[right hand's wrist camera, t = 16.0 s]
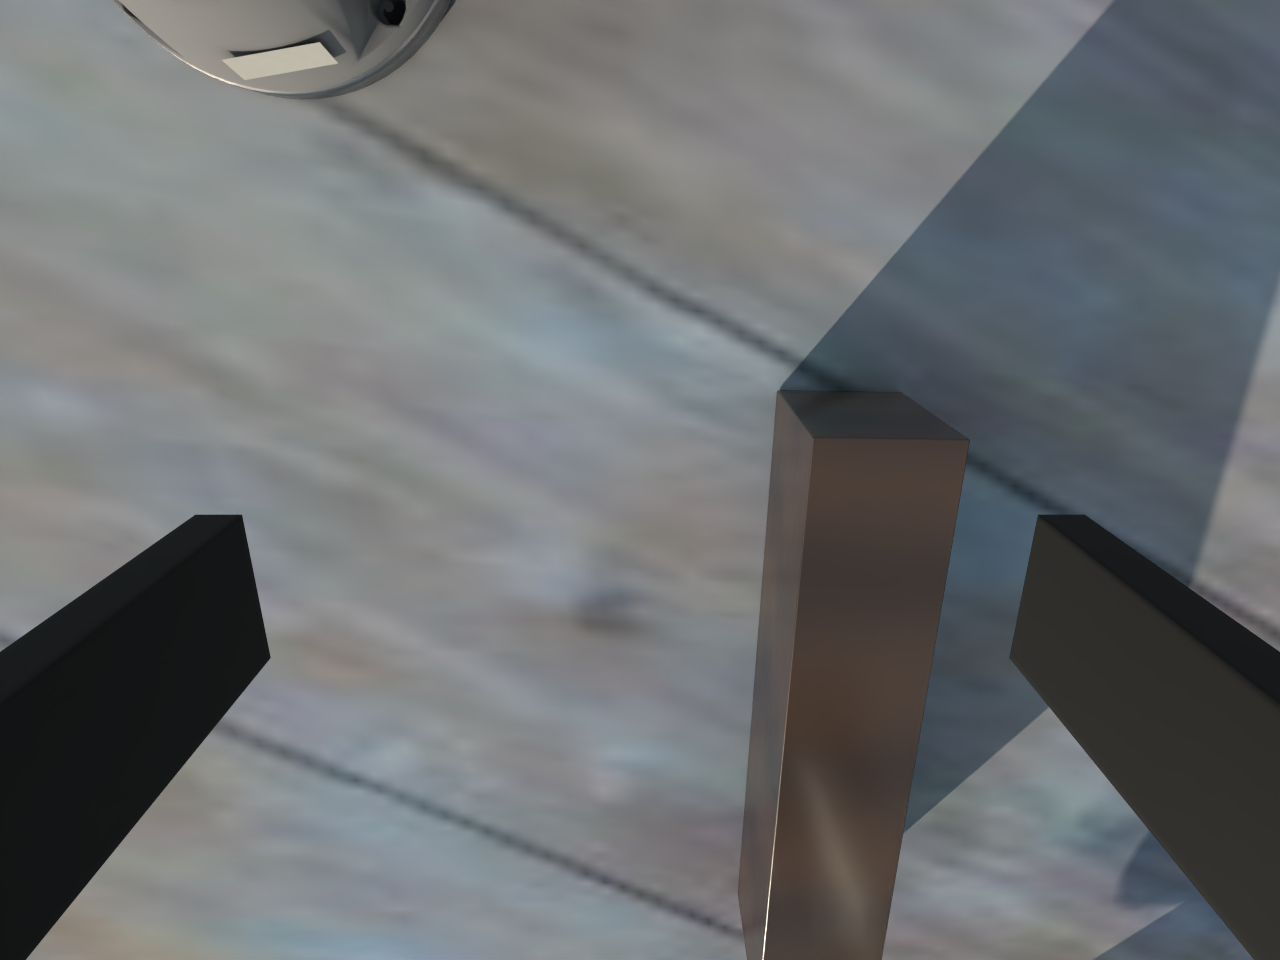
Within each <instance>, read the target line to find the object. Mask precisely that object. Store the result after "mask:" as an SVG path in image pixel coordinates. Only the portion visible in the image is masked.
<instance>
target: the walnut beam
mask: <svg viewBox="0 0 1280 960" xmlns="http://www.w3.org/2000/svg"><path fill="white" fill-rule="evenodd" d="M969 442H970V440H969V439H968V438H966V437H965V436H963V435H962V434H960V433H959V432H958V431H956V430H955V429H953V428H952V427H950V426H949V425H947V424H946V423H945V422H943V421H942V420H940V419H939V418H937V417H936V416H934V415H933V414H932V413H930V412H929V411H927V410H926V409H924V408H923V407H921V406H920V405H919V404H917V403H916V402H914V401H913V400H911V399H910V398H908V397H907V396H906V395H904V394H903V393H901V392H841V391H777V399H776V412H775V425H774V437H773V450H772V463H771V476H770V489H769V502H768V514H767V527H766V540H765V553H764V566H763V578H762V591H761V604H760V617H759V630H758V643H757V655H756V668H755V681H754V694H753V707H752V720H751V732H750V745H749V758H748V771H747V784H746V796H745V809H744V822H743V835H742V848H741V861H740V873H739V886H738V898H739V905H740V913H741V920H742V927H743V934H744V941H745V948H746V955H747V960H882V954H883V948H884V942H885V937H886V931H887V925H888V919H889V913H890V907H891V901H892V895H893V889H894V884H895V878H896V872H897V866H898V860H899V854H900V848H901V842H902V836H903V831H904V825H905V819H906V813H907V807H908V801H909V795H910V789H911V783H912V777H913V772H914V766H915V760H916V754H917V748H918V742H919V736H920V730H921V724H922V719H923V713H924V707H925V701H926V695H927V689H928V683H929V677H930V671H931V666H932V660H933V654H934V648H935V642H936V636H937V630H938V624H939V618H940V613H941V607H942V601H943V595H944V589H945V583H946V577H947V571H948V565H949V560H950V554H951V548H952V542H953V536H954V530H955V524H956V518H957V512H958V507H959V501H960V495H961V489H962V483H963V477H964V471H965V465H966V459H967V453H968V448H969Z"/></svg>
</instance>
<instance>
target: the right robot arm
mask: <svg viewBox="0 0 1280 960" xmlns="http://www.w3.org/2000/svg"><path fill="white" fill-rule="evenodd" d="M113 1H114V3H115V4H116V5H117V6H118V7H119V8H120V9H121V10H122V11H123V12H124V13H125V14H126V15H127V16H128V17H129V18H130V19H131V20H132V21H133V22H134V23H135V24H136V25H137V26H138V27H139V28H140V29H141V30H143V31H144V32H145V33H146V34H147V35H148V36H150V37H151V38H152V39H153V40H154V41H155V42H157V43H158V44H159V45H161V46H162V47H163V48H165V49H166V50H167V51H169V52H170V53H171V54H173V55H174V56H175V57H177V58H179V59H180V60H182V61H184V62H185V63H187V64H188V65H190V66H192V67H193V68H195V69H197V70H199V71H201V72H203V73H205V74H207V75H209V76H211V77H214V78H217V79H219V80H222V81H224V82H227V83H229V84H232V85H236V86H239V87H242V88H245V89H248V90H252V91H255V92H259V93H262V94H266V95H271V96H277V97H282V98H293V99H320V98H327V97H334V96H339V95H343V94H347V93H350V92H354V91H357V90H359V89H362V88H364V87H367V86H369V85H371V84H373V83H375V82H377V81H379V80H381V79H383V78H384V77H386V76H388V75H389V74H390V73H392V72H393V71H395V70H396V69H398V68H399V67H401V66H402V65H403V64H404V63H405V62H406V61H407V60H409V59H410V58H411V57H412V56H413V55H414V54H415V53H416V52H417V51H418V50H419V49H420V48H421V46H422V45H423V44H424V43H425V42H426V41H427V40H428V38H429V37H430V36H431V34H432V33H433V32H434V30H435V29H436V27H437V26H438V24H439V23H440V21H441V19H442V18H443V16H444V14H445V13H446V11H447V9H448V7H449V5H450V3H451V1H452V0H113ZM269 659H270V653H269V648H268V643H267V638H266V633H265V628H264V623H263V618H262V613H261V608H260V603H259V598H258V593H257V588H256V583H255V578H254V573H253V568H252V563H251V558H250V553H249V548H248V543H247V538H246V533H245V528H244V523H243V518H242V515H194V516H193V517H192V518H190V519H189V520H187V521H186V522H185V523H183V524H182V525H180V526H179V527H177V528H176V529H175V530H173V531H172V532H170V533H169V534H167V535H166V536H165V537H163V538H162V539H160V540H159V541H157V542H156V543H155V544H153V545H152V546H150V547H149V548H148V549H146V550H145V551H143V552H142V553H140V554H139V555H138V556H136V557H135V558H133V559H132V560H130V561H129V562H128V563H126V564H125V565H123V566H122V567H120V568H119V569H118V570H116V571H115V572H113V573H112V574H111V575H109V576H108V577H106V578H105V579H103V580H102V581H101V582H99V583H98V584H96V585H95V586H93V587H92V588H91V589H89V590H88V591H86V592H85V593H83V594H82V595H81V596H79V597H78V598H76V599H75V600H74V601H72V602H71V603H69V604H68V605H66V606H65V607H64V608H62V609H61V610H59V611H58V612H56V613H55V614H54V615H52V616H51V617H49V618H48V619H46V620H45V621H44V622H42V623H41V624H39V625H38V626H37V627H35V628H34V629H32V630H31V631H29V632H28V633H27V634H25V635H24V636H22V637H21V638H19V639H18V640H17V641H15V642H14V643H12V644H11V645H9V646H8V647H7V648H5V649H4V650H2V651H1V652H0V960H26V959H27V957H28V956H29V955H30V954H31V953H32V951H33V950H34V949H35V948H36V946H37V945H38V944H39V943H40V941H41V940H42V939H43V938H44V937H45V935H46V934H47V933H48V932H49V930H50V929H51V928H52V927H53V925H54V924H55V923H56V922H57V920H58V919H59V918H60V917H61V916H62V914H63V913H64V912H65V911H66V909H67V908H68V907H69V906H70V904H71V903H72V902H73V901H74V900H75V898H76V897H77V896H78V895H79V893H80V892H81V891H82V890H83V888H84V887H85V886H86V885H87V883H88V882H89V881H90V880H91V879H92V877H93V876H94V875H95V874H96V872H97V871H98V870H99V869H100V867H101V866H102V865H103V864H104V863H105V861H106V860H107V859H108V858H109V856H110V855H111V854H112V853H113V851H114V850H115V849H116V848H117V847H118V845H119V844H120V843H121V842H122V840H123V839H124V838H125V837H126V835H127V834H128V833H129V832H130V830H131V829H132V828H133V827H134V826H135V824H136V823H137V822H138V821H139V819H140V818H141V817H142V816H143V814H144V813H145V812H146V811H147V810H148V808H149V807H150V806H151V805H152V803H153V802H154V801H155V800H156V798H157V797H158V796H159V795H160V794H161V792H162V791H163V790H164V789H165V787H166V786H167V785H168V784H169V782H170V781H171V780H172V779H173V777H174V776H175V775H176V774H177V773H178V771H179V770H180V769H181V768H182V766H183V765H184V764H185V763H186V761H187V760H188V759H189V758H190V757H191V755H192V754H193V753H194V752H195V750H196V749H197V748H198V747H199V745H200V744H201V743H202V742H203V740H204V739H205V738H206V737H207V736H208V734H209V733H210V732H211V731H212V729H213V728H214V727H215V726H216V724H217V723H218V722H219V721H220V720H221V718H222V717H223V716H224V715H225V713H226V712H227V711H228V710H229V708H230V707H231V706H232V705H233V704H234V702H235V701H236V700H237V699H238V697H239V696H240V695H241V694H242V692H243V691H244V690H245V689H246V687H247V686H248V685H249V684H250V683H251V681H252V680H253V679H254V678H255V676H256V675H257V674H258V673H259V671H260V670H261V669H262V668H263V667H264V665H265V664H266V663H267V662H268V660H269ZM1010 659H1011V660H1012V662H1013V663H1014V664H1015V665H1016V667H1017V668H1018V669H1019V670H1020V671H1021V673H1022V674H1023V675H1024V676H1025V678H1026V679H1027V680H1028V681H1029V683H1030V684H1031V685H1032V686H1033V687H1034V689H1035V690H1036V691H1037V692H1038V694H1039V695H1040V696H1041V697H1042V699H1043V700H1044V701H1045V702H1046V704H1047V705H1048V706H1049V707H1050V708H1051V710H1052V711H1053V712H1054V713H1055V715H1056V716H1057V717H1058V718H1059V720H1060V721H1061V722H1062V723H1063V724H1064V726H1065V727H1066V728H1067V729H1068V731H1069V732H1070V733H1071V734H1072V736H1073V737H1074V738H1075V739H1076V740H1077V742H1078V743H1079V744H1080V745H1081V747H1082V748H1083V749H1084V750H1085V752H1086V753H1087V754H1088V755H1089V757H1090V758H1091V759H1092V760H1093V761H1094V763H1095V764H1096V765H1097V766H1098V768H1099V769H1100V770H1101V771H1102V773H1103V774H1104V775H1105V776H1106V777H1107V779H1108V780H1109V781H1110V782H1111V784H1112V785H1113V786H1114V787H1115V789H1116V790H1117V791H1118V792H1119V794H1120V795H1121V796H1122V797H1123V798H1124V800H1125V801H1126V802H1127V803H1128V805H1129V806H1130V807H1131V808H1132V810H1133V811H1134V812H1135V813H1136V814H1137V816H1138V817H1139V818H1140V819H1141V821H1142V822H1143V823H1144V824H1145V826H1146V827H1147V828H1148V829H1149V830H1150V832H1151V833H1152V834H1153V835H1154V837H1155V838H1156V839H1157V840H1158V842H1159V843H1160V844H1161V845H1162V847H1163V848H1164V849H1165V850H1166V851H1167V853H1168V854H1169V855H1170V856H1171V858H1172V859H1173V860H1174V861H1175V863H1176V864H1177V865H1178V866H1179V867H1180V869H1181V870H1182V871H1183V872H1184V874H1185V875H1186V876H1187V877H1188V879H1189V880H1190V881H1191V882H1192V883H1193V885H1194V886H1195V887H1196V888H1197V890H1198V891H1199V892H1200V893H1201V895H1202V896H1203V897H1204V898H1205V900H1206V901H1207V902H1208V903H1209V904H1210V906H1211V907H1212V908H1213V909H1214V911H1215V912H1216V913H1217V914H1218V916H1219V917H1220V918H1221V919H1222V920H1223V922H1224V923H1225V924H1226V925H1227V927H1228V928H1229V929H1230V930H1231V932H1232V933H1233V934H1234V935H1235V937H1236V938H1237V939H1238V940H1239V941H1240V943H1241V944H1242V945H1243V946H1244V948H1245V949H1246V950H1247V951H1248V953H1249V954H1250V955H1251V956H1252V957H1253V959H1254V960H1280V652H1279V651H1278V650H1276V649H1275V648H1273V647H1272V646H1271V645H1269V644H1268V643H1266V642H1265V641H1263V640H1262V639H1261V638H1259V637H1258V636H1256V635H1255V634H1253V633H1252V632H1251V631H1249V630H1248V629H1246V628H1245V627H1243V626H1242V625H1241V624H1239V623H1238V622H1236V621H1235V620H1234V619H1232V618H1231V617H1229V616H1228V615H1226V614H1225V613H1224V612H1222V611H1221V610H1219V609H1218V608H1216V607H1215V606H1214V605H1212V604H1211V603H1209V602H1208V601H1206V600H1205V599H1204V598H1202V597H1201V596H1199V595H1198V594H1197V593H1195V592H1194V591H1192V590H1191V589H1189V588H1188V587H1187V586H1185V585H1184V584H1182V583H1181V582H1179V581H1178V580H1177V579H1175V578H1174V577H1172V576H1171V575H1169V574H1168V573H1167V572H1165V571H1164V570H1162V569H1161V568H1160V567H1158V566H1157V565H1155V564H1154V563H1152V562H1151V561H1150V560H1148V559H1147V558H1145V557H1144V556H1142V555H1141V554H1140V553H1138V552H1137V551H1135V550H1134V549H1132V548H1131V547H1130V546H1128V545H1127V544H1125V543H1124V542H1123V541H1121V540H1120V539H1118V538H1117V537H1115V536H1114V535H1113V534H1111V533H1110V532H1108V531H1107V530H1105V529H1104V528H1103V527H1101V526H1100V525H1098V524H1097V523H1095V522H1094V521H1093V520H1091V519H1090V518H1088V517H1087V516H1086V515H1038V518H1037V523H1036V528H1035V533H1034V538H1033V543H1032V548H1031V553H1030V558H1029V563H1028V568H1027V573H1026V578H1025V583H1024V588H1023V593H1022V598H1021V603H1020V608H1019V613H1018V618H1017V623H1016V628H1015V633H1014V638H1013V643H1012V648H1011V653H1010Z"/></svg>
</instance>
